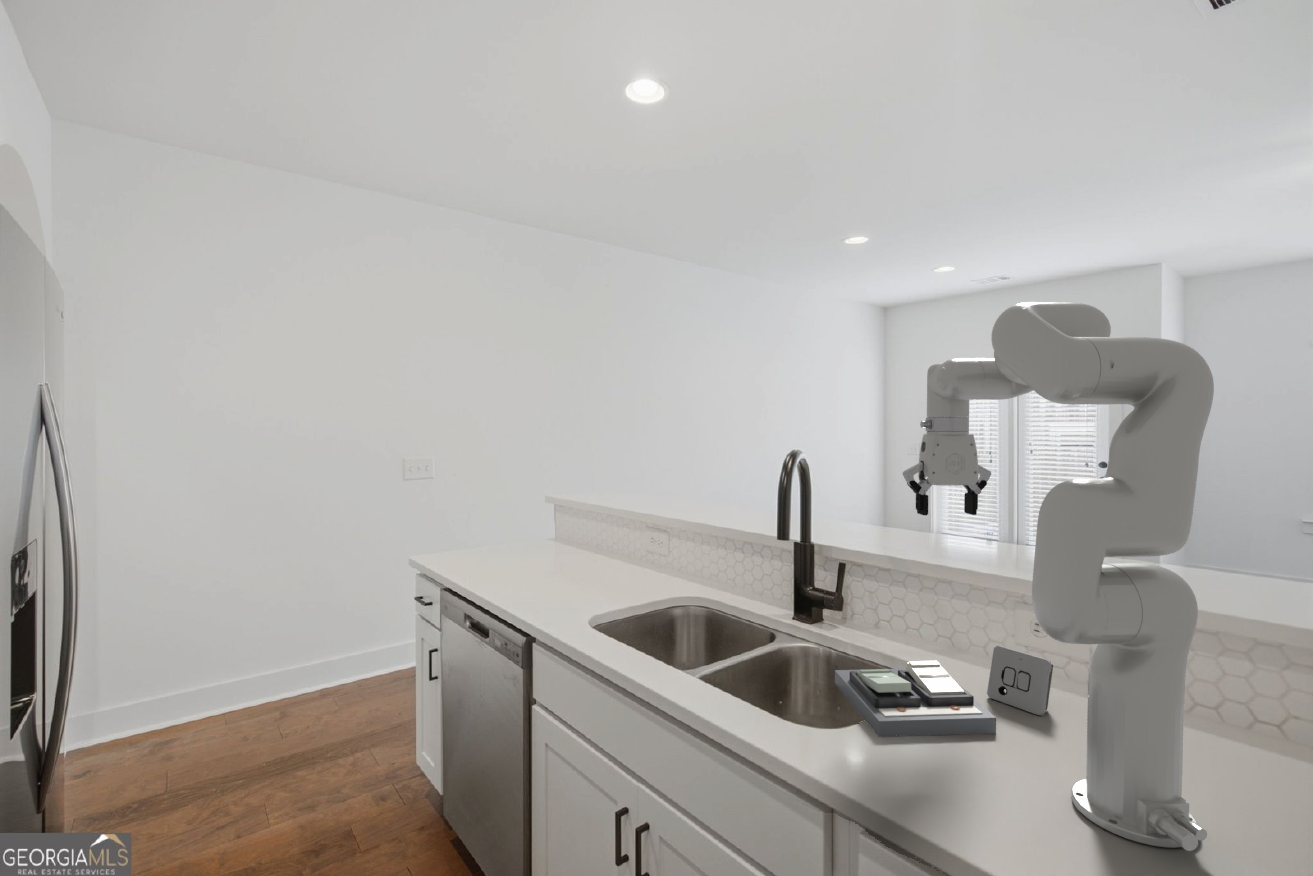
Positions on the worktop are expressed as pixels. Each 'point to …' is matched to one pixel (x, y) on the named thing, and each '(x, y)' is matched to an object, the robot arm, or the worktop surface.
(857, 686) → the switch panel
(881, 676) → the rocker sage
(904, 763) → the worktop surface
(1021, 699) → the electrical switch
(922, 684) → the rocker ivory
